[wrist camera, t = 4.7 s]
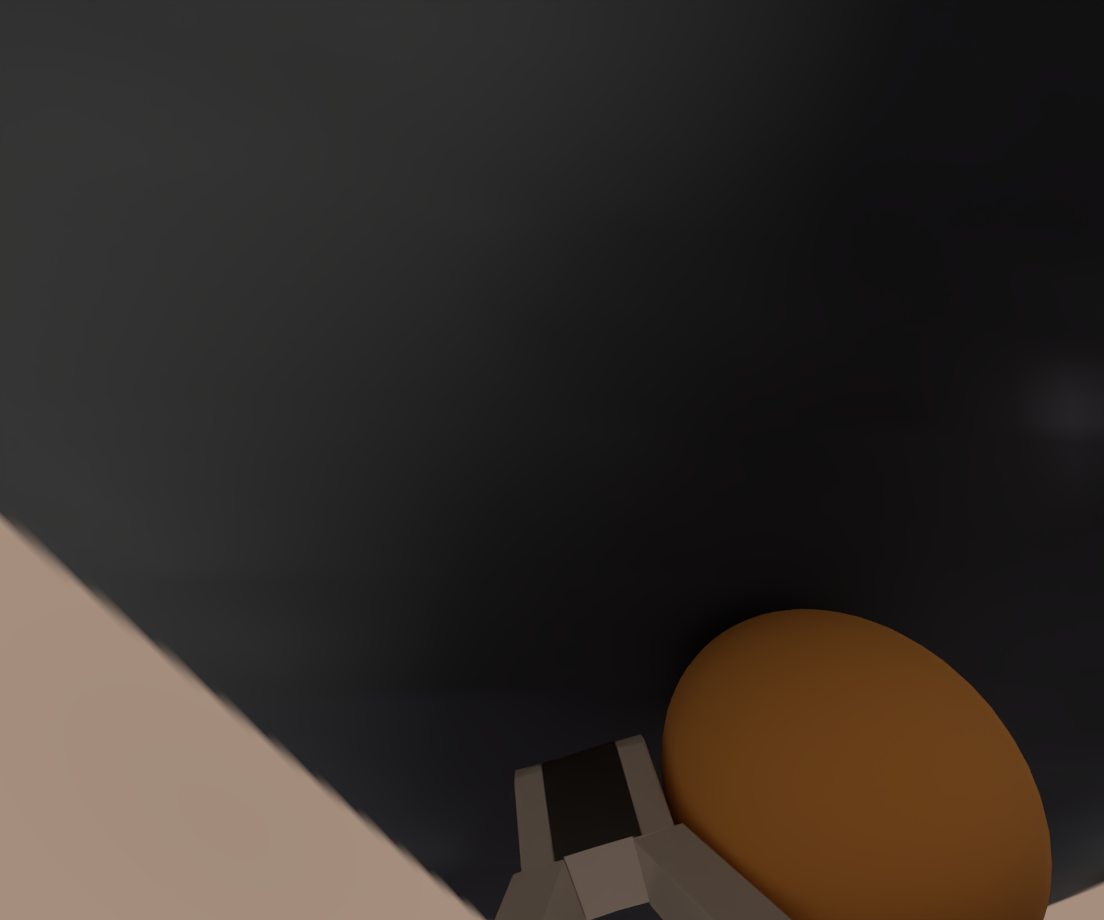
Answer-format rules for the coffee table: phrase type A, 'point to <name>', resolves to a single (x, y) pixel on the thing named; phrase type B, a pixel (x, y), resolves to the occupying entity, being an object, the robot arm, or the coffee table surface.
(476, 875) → the coffee table surface
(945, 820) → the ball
